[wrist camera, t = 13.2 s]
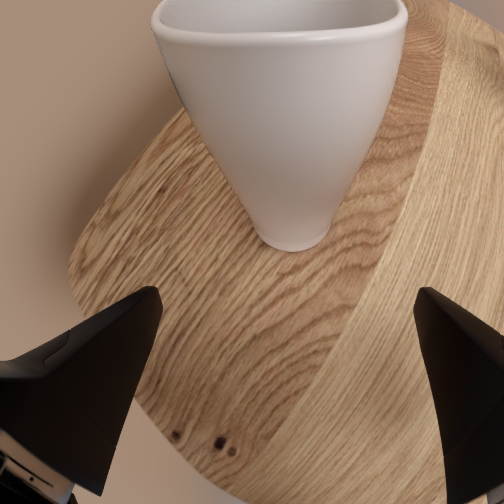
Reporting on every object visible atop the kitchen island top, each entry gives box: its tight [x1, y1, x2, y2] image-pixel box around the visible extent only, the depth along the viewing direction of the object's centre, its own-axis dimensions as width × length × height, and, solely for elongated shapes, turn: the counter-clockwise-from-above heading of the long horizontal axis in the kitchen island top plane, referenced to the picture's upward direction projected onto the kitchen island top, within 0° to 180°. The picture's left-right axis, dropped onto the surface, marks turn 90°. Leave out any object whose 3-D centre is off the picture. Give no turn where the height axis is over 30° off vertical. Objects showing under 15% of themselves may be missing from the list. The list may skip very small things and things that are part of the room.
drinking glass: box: [150, 0, 408, 252], centre depth 12 cm, size 7×7×15 cm
